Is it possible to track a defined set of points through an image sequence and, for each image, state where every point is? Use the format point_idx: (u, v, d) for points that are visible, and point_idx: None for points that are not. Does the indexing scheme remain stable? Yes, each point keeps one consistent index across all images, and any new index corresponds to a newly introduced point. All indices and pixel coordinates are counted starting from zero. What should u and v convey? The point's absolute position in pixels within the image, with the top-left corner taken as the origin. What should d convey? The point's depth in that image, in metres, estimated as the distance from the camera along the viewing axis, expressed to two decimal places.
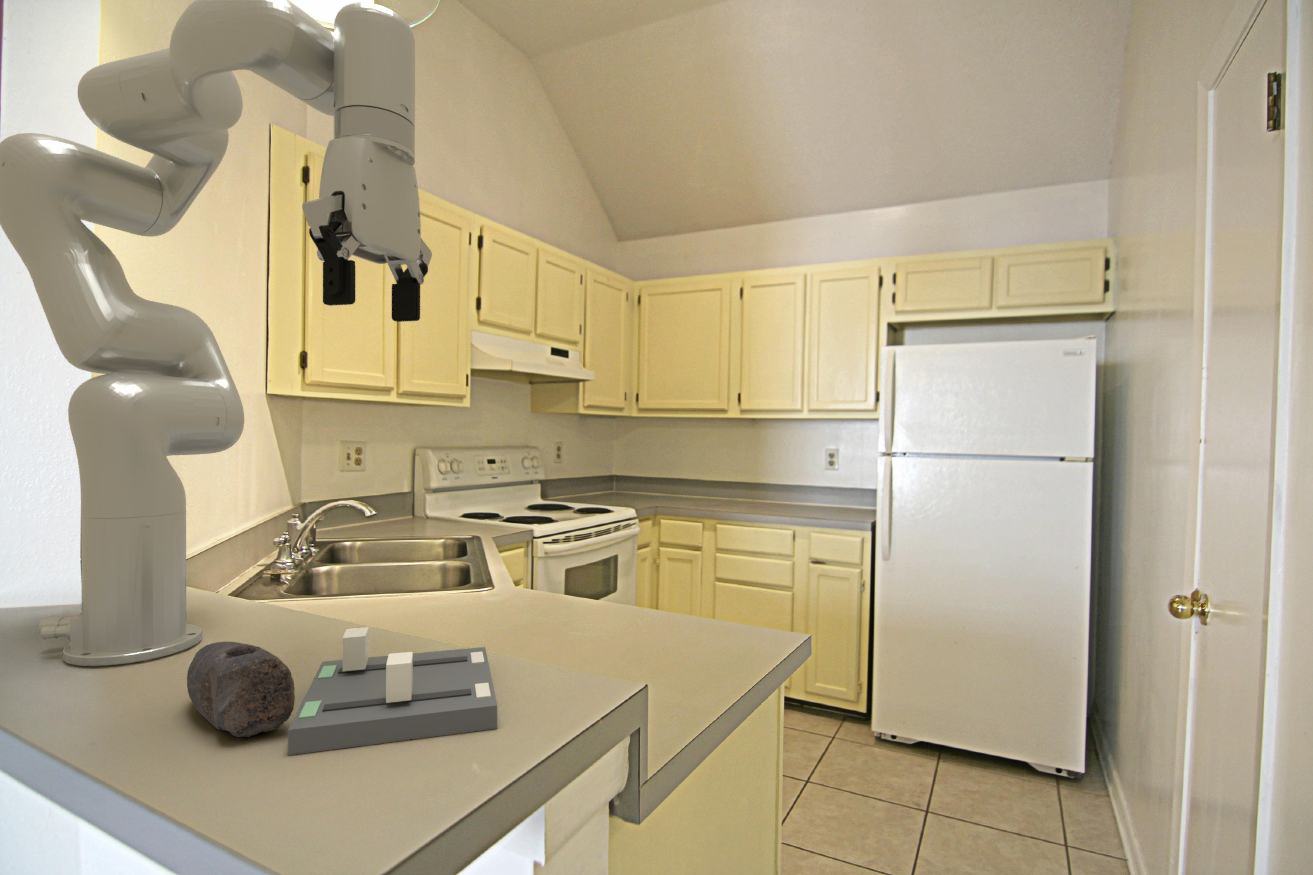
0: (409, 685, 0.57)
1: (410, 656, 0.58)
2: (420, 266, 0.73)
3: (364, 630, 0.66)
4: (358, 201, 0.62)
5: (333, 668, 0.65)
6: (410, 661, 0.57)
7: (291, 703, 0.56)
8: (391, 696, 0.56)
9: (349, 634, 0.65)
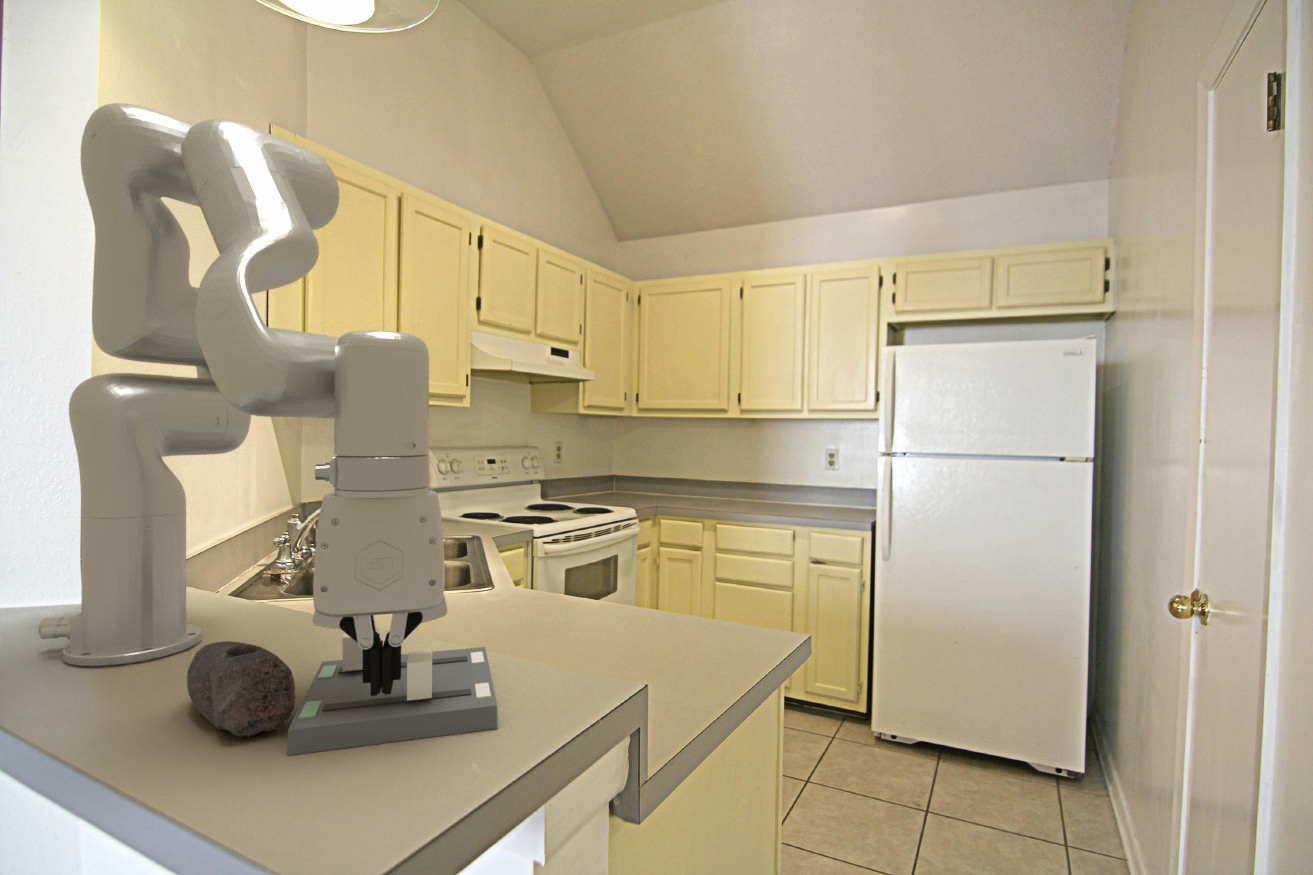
0: (430, 683, 0.57)
1: (430, 654, 0.59)
2: None
3: None
4: None
5: (333, 668, 0.65)
6: (430, 659, 0.58)
7: (291, 703, 0.56)
8: (412, 694, 0.57)
9: None
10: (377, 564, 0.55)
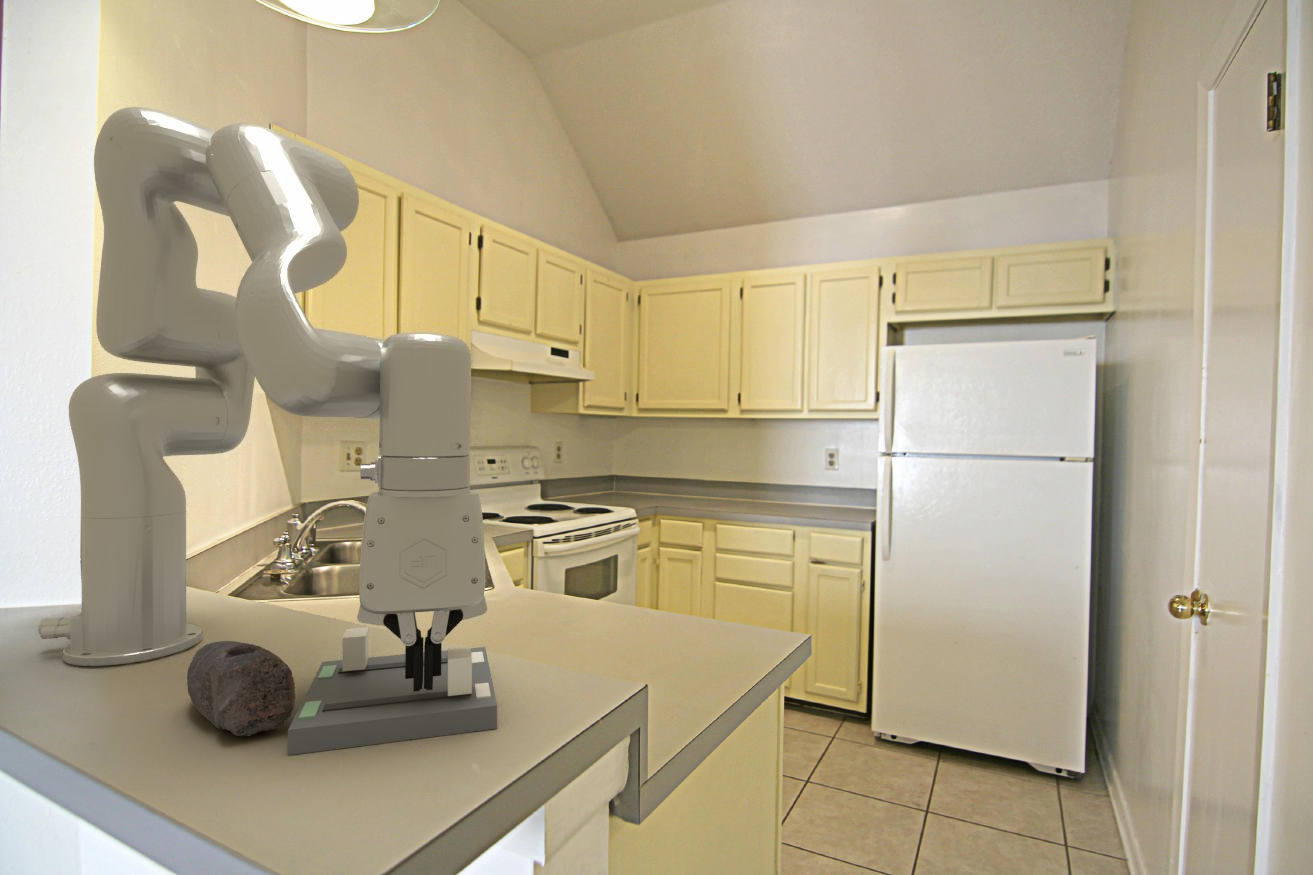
0: (470, 679, 0.58)
1: (469, 651, 0.60)
2: None
3: (364, 630, 0.66)
4: None
5: (333, 668, 0.65)
6: (470, 655, 0.59)
7: (292, 702, 0.56)
8: (452, 689, 0.58)
9: (349, 634, 0.65)
10: (421, 563, 0.56)
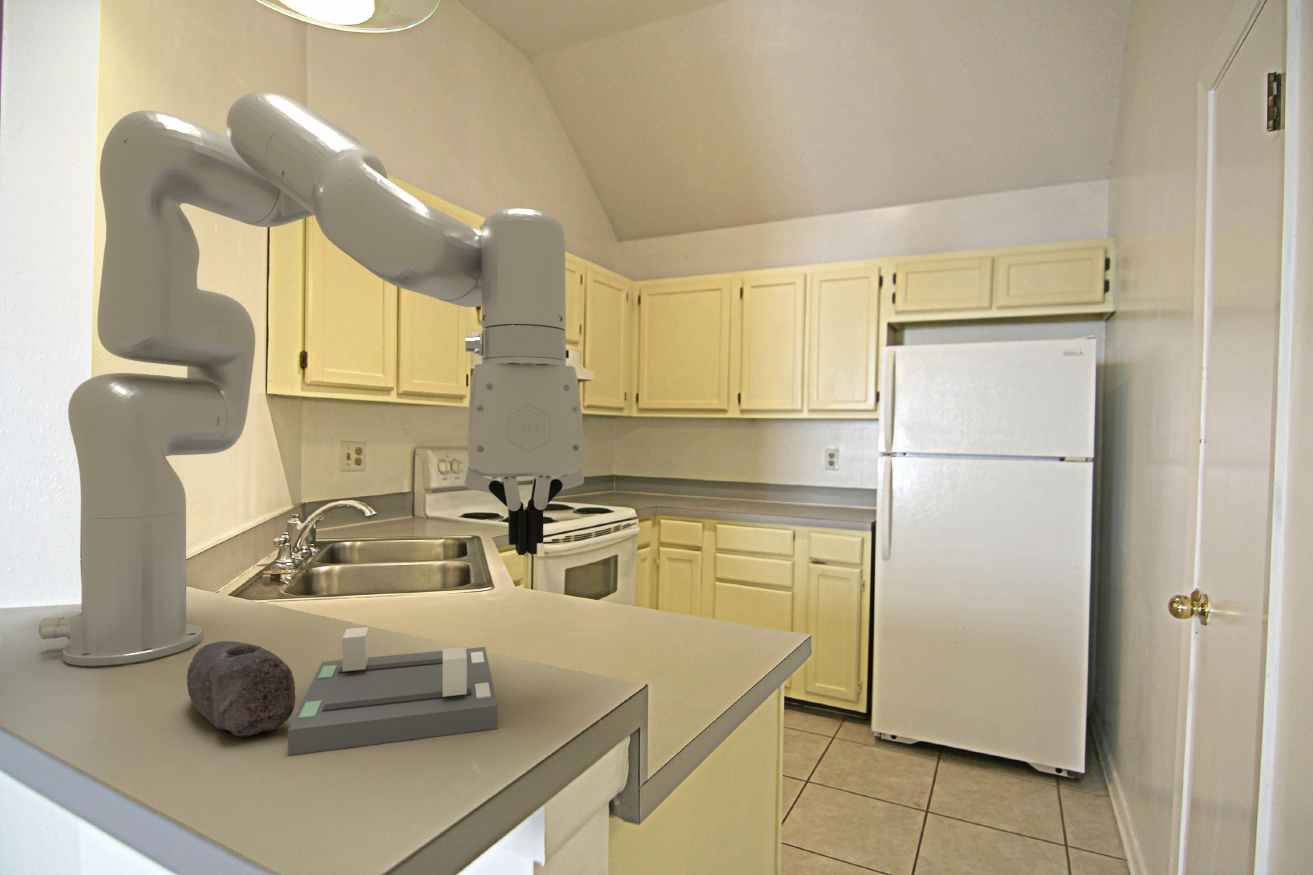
0: (464, 679, 0.58)
1: (464, 651, 0.60)
2: None
3: (364, 630, 0.66)
4: None
5: (333, 668, 0.65)
6: (465, 656, 0.59)
7: (292, 702, 0.56)
8: (447, 690, 0.58)
9: (349, 634, 0.65)
10: (526, 428, 0.58)
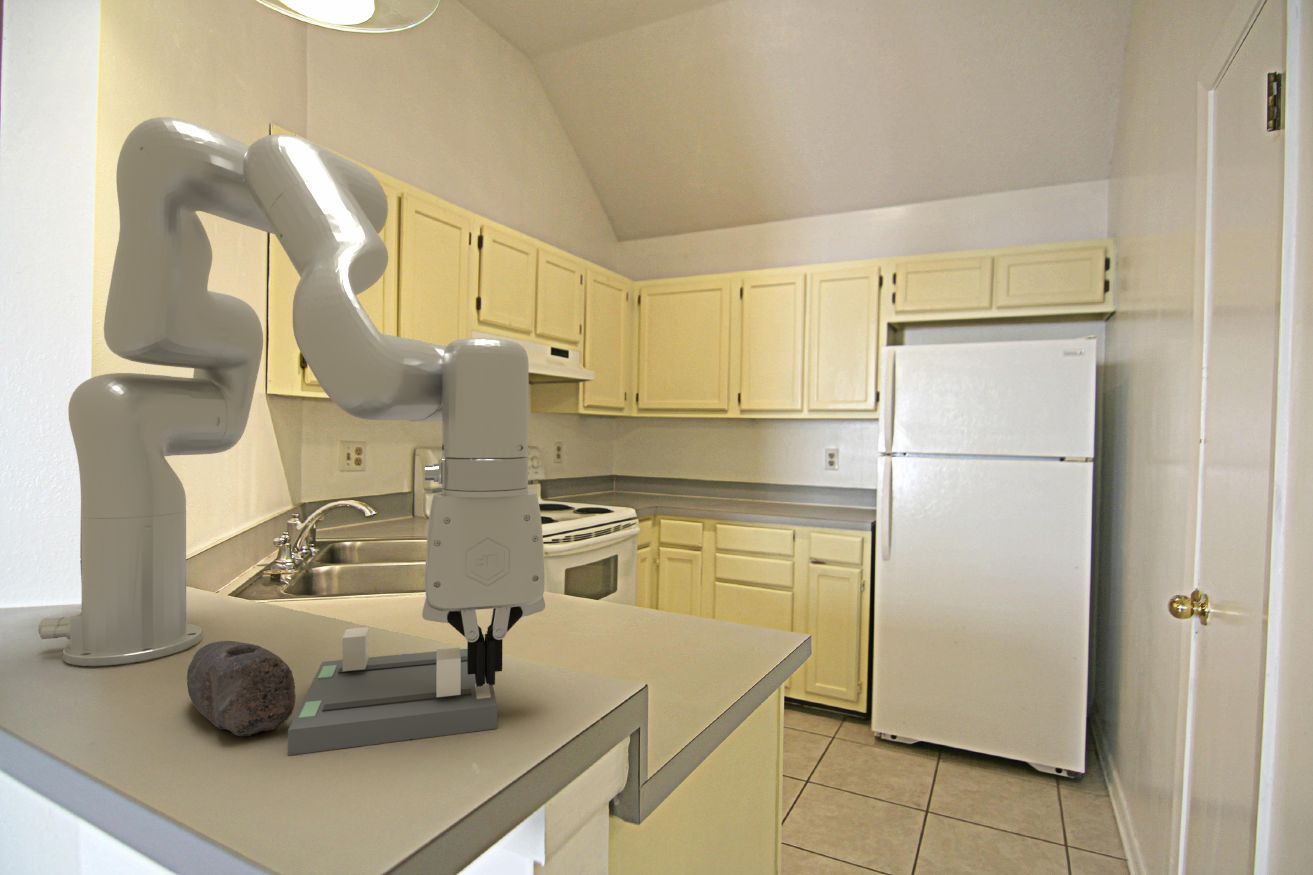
0: (458, 680, 0.58)
1: (458, 652, 0.60)
2: None
3: (364, 630, 0.66)
4: None
5: (333, 668, 0.65)
6: (459, 656, 0.59)
7: (292, 702, 0.56)
8: (441, 691, 0.58)
9: (349, 634, 0.65)
10: (485, 561, 0.57)
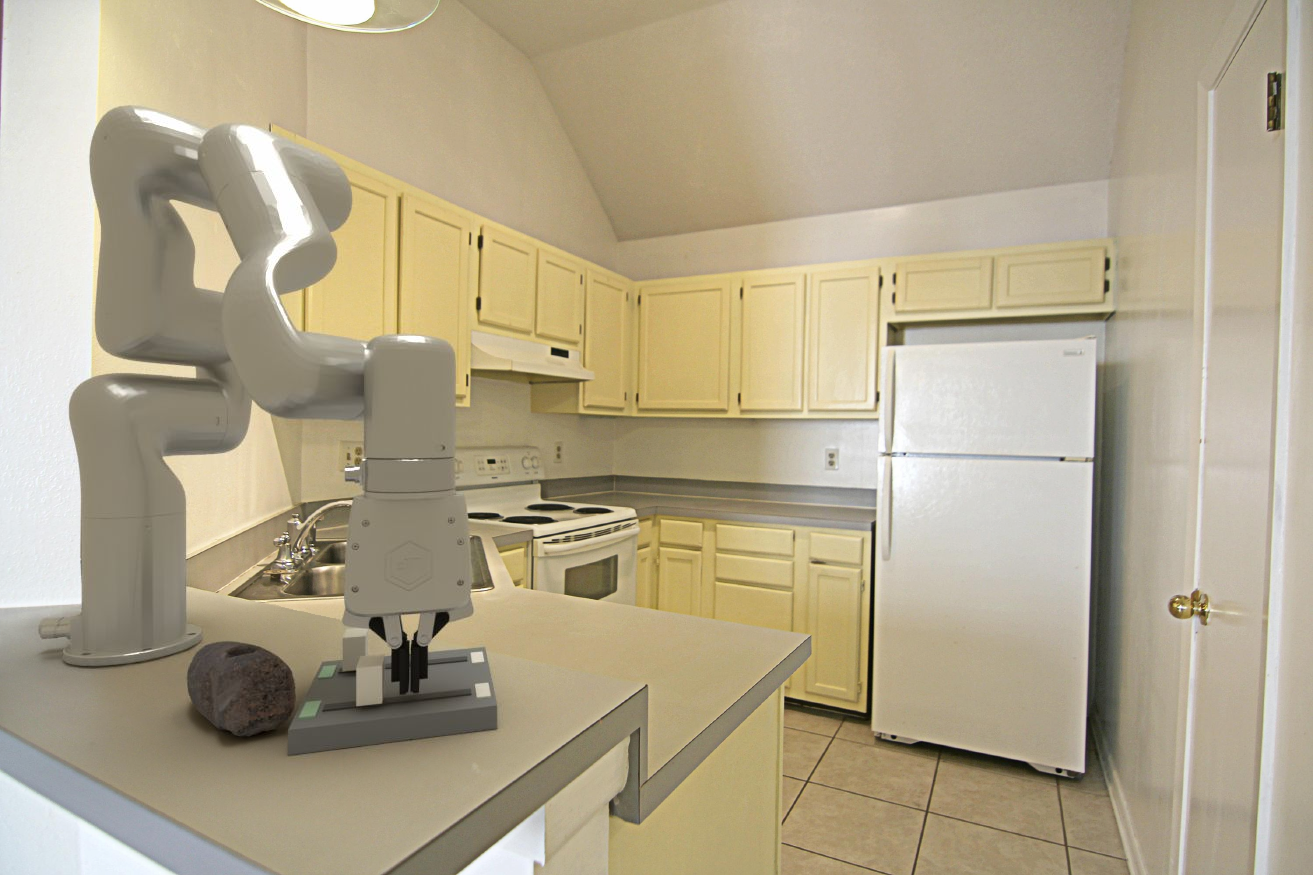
0: (380, 688, 0.56)
1: (382, 659, 0.58)
2: None
3: (364, 630, 0.66)
4: None
5: (333, 668, 0.65)
6: (381, 664, 0.57)
7: (292, 702, 0.56)
8: (361, 699, 0.56)
9: (349, 634, 0.65)
10: (406, 565, 0.55)
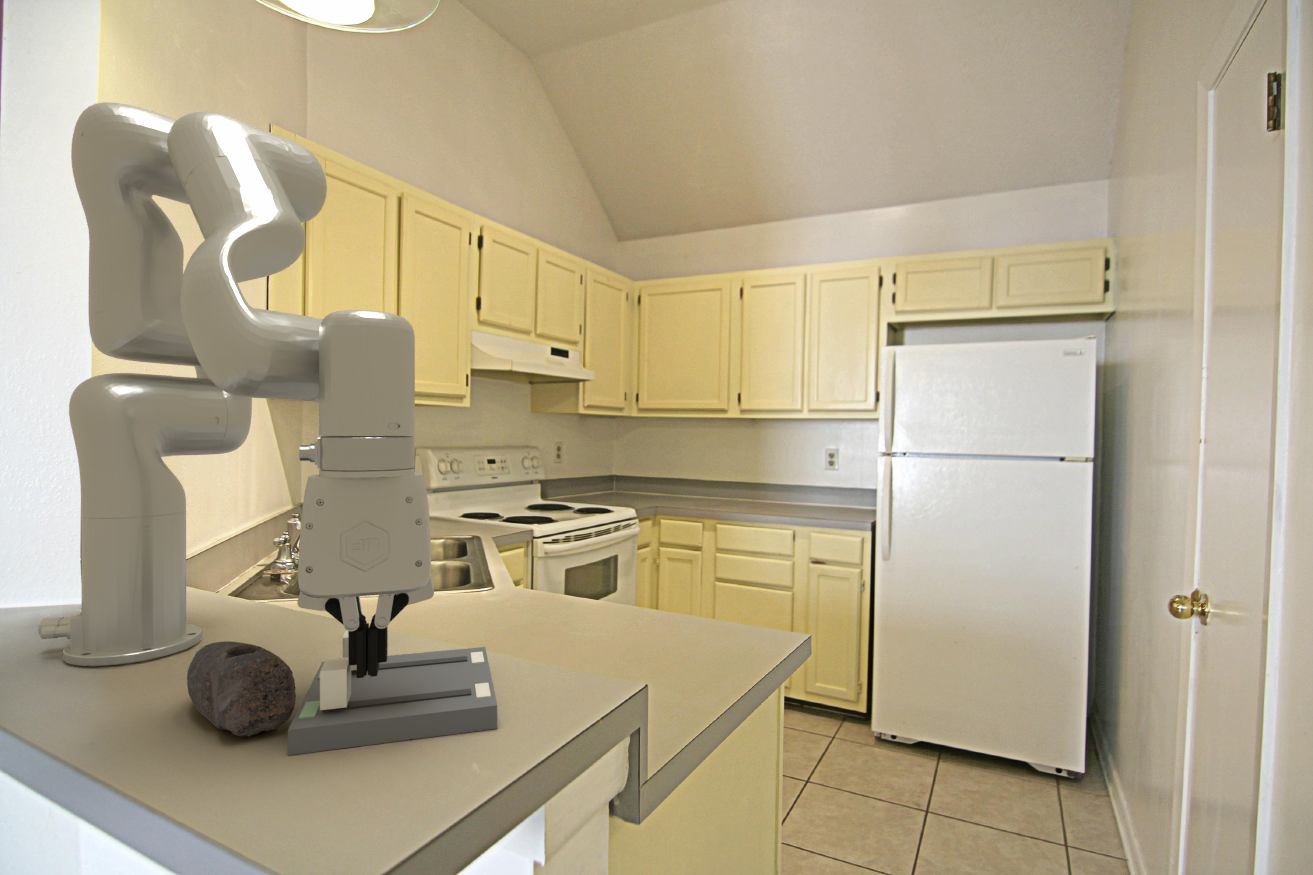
0: (344, 692, 0.55)
1: (347, 662, 0.57)
2: None
3: None
4: None
5: None
6: (345, 667, 0.56)
7: (292, 702, 0.56)
8: (325, 703, 0.55)
9: None
10: (362, 545, 0.54)
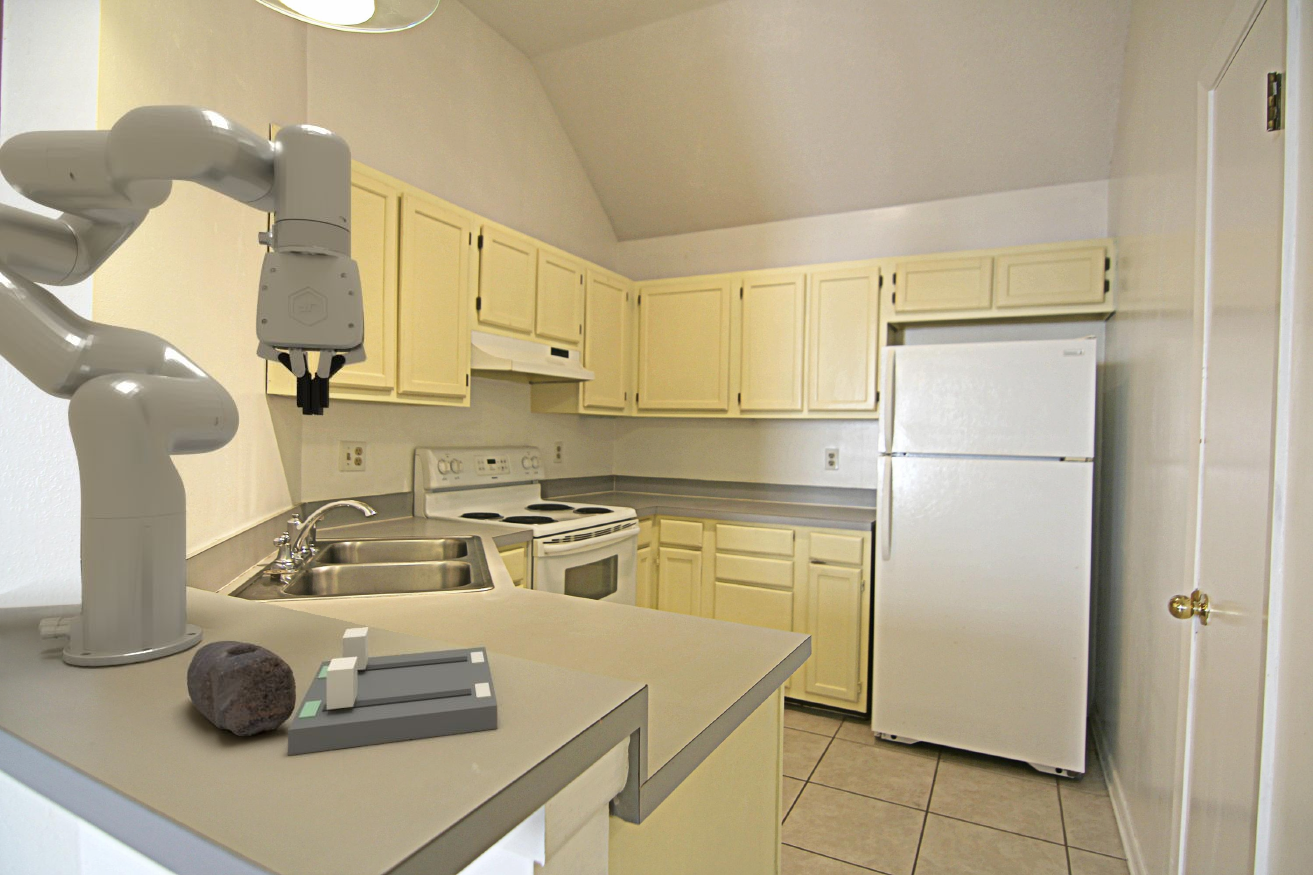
0: (351, 691, 0.55)
1: (353, 661, 0.57)
2: None
3: (364, 630, 0.66)
4: None
5: None
6: (352, 666, 0.56)
7: (292, 701, 0.56)
8: (332, 702, 0.55)
9: (349, 634, 0.65)
10: (306, 306, 0.70)
